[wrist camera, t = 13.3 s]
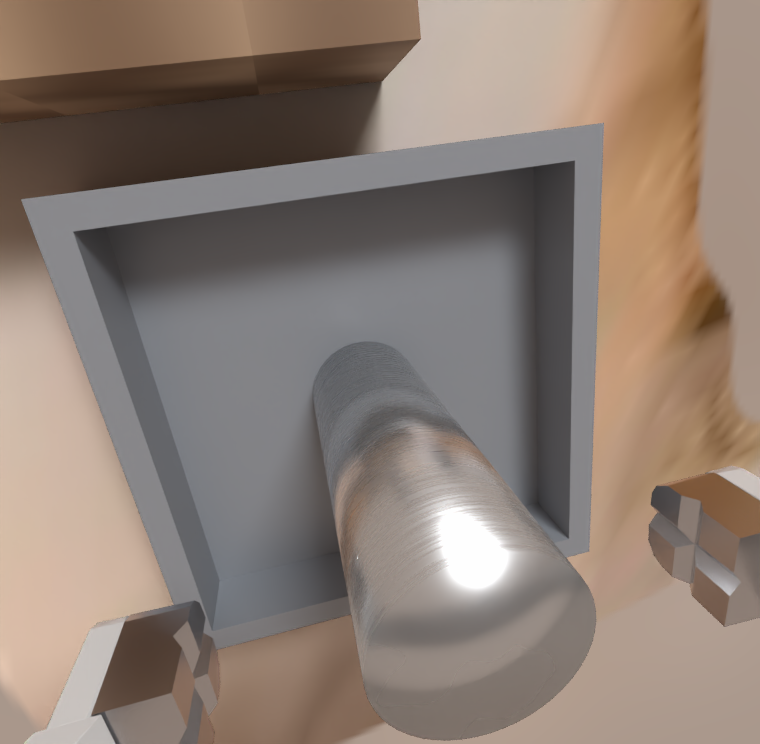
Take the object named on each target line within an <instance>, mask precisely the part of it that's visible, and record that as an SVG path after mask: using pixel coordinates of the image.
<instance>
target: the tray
mask: <svg viewBox="0 0 760 744" xmlns="http://www.w3.org/2000/svg"><path fill="white" fill-rule="evenodd" d="M603 135H604V123H600V124H593V125H585V126H577V127H570V128H562V129H554V130H547V131H539V132H531V133H524V134H516V135H509V136H501V137H493V138H486V139H478V140H470V141H463V142H455V143H447V144H440V145H432V146H425V147H417V148H409V149H402V150H394V151H386V152H379V153H371V154H363V155H356V156H348V157H341V158H333V159H325V160H318V161H310V162H302V163H295V164H287V165H279V166H272V167H264V168H257V169H249V170H241V171H234V172H226V173H218V174H211V175H203V176H195V177H188V178H180V179H173V180H165V181H157V182H150V183H142V184H134V185H127V186H119V187H111V188H104V189H96V190H89V191H81V192H73V193H66V194H58V195H50V196H43V197H35V198H27V199H21V201H22V204H23V206H24V209H25V212H26V214H27V217H28V219H29V222H30V225H31V227H32V230H33V233H34V235H35V238H36V241H37V243H38V246H39V249H40V251H41V254H42V257H43V259H44V262H45V265H46V267H47V270H48V272H49V275H50V278H51V280H52V283H53V286H54V288H55V291H56V294H57V296H58V299H59V302H60V304H61V307H62V310H63V312H64V315H65V318H66V320H67V323H68V325H69V328H70V331H71V333H72V336H73V339H74V341H75V344H76V347H77V349H78V352H79V355H80V357H81V360H82V363H83V365H84V368H85V370H86V373H87V376H88V378H89V381H90V384H91V386H92V389H93V392H94V394H95V397H96V400H97V402H98V405H99V408H100V410H101V413H102V416H103V418H104V421H105V423H106V426H107V429H108V431H109V434H110V437H111V439H112V442H113V445H114V447H115V450H116V453H117V455H118V458H119V461H120V463H121V466H122V469H123V471H124V474H125V476H126V479H127V482H128V484H129V487H130V490H131V492H132V495H133V498H134V500H135V503H136V506H137V508H138V511H139V514H140V516H141V519H142V521H143V524H144V527H145V529H146V532H147V535H148V537H149V540H150V543H151V545H152V548H153V551H154V553H155V556H156V559H157V561H158V564H159V567H160V569H161V572H162V574H163V577H164V580H165V582H166V585H167V588H168V590H169V593H170V596H171V598H172V601H173V604H174V605H176V604H181V603H185V602H190V601H194V600H195V601H197V602H200V605H201V607H202V610H203V612H204V615H205V617H206V618H205V624H204V631H203V633H205V634H207V635H208V636H210V637H212V638H213V640H214V643H215V646H216V649H217V650H218V649H222V648H226V647H229V646H233V645H237V644H241V643H245V642H248V641H252V640H256V639H260V638H263V637H267V636H271V635H275V634H279V633H282V632H286V631H290V630H294V629H297V628H301V627H305V626H309V625H313V624H316V623H320V622H324V621H328V620H331V619H335V618H339V617H343V616H347V615H350V614H351V610H350V604H349V599H348V593H347V588H346V582H345V576H344V571H343V565H342V560H341V554H340V548H339V543H338V537H337V532H336V526H335V520H334V515H333V509H332V503H331V498H330V492H329V487H328V481H327V475H326V470H325V464H324V459H323V453H322V447H321V442H320V436H319V431H318V425H317V419H316V414H315V408H314V402H313V385H314V381H315V377H316V375H317V373H318V371H319V369H320V367H321V366H322V364H323V363H324V362H325V361H326V359H327V358H328V357H330V356H331V355H332V354H333V353H334V352H336V351H337V350H339V349H341V348H342V347H344V346H347V345H349V344H353V343H357V342H363V341H373V342H380V343H383V344H386V345H389V346H391V347H393V348H395V349H396V350H398V351H399V352H400V353H401V354H403V356H404V357H405V358H406V359H407V360H408V361H409V362H410V364H411V365H412V366H413V367H414V369H415V370H416V371H417V372H418V374H419V375H420V376H421V377H422V379H423V380H424V381H425V382H426V384H427V385H428V386H429V387H430V389H431V390H432V391H433V392H434V394H435V395H436V396H437V397H438V399H439V400H440V401H441V402H442V404H443V405H444V406H445V407H446V409H447V410H448V411H449V412H450V414H451V415H452V416H453V417H454V419H455V420H456V421H457V422H458V424H459V425H460V426H461V427H462V429H463V430H464V431H465V432H466V434H467V435H468V436H469V437H470V439H471V440H472V441H473V442H474V444H475V445H476V446H477V447H478V449H479V450H480V451H481V452H482V454H483V455H484V456H485V457H486V459H487V460H488V461H489V462H490V464H491V465H492V466H493V467H494V469H495V470H496V471H497V472H498V474H499V475H500V476H501V477H502V479H503V480H504V481H505V482H506V484H507V485H508V486H509V487H510V489H511V490H512V491H513V492H514V494H515V495H516V496H517V497H518V499H519V500H520V501H521V502H522V504H523V505H524V506H525V507H526V509H527V510H528V511H529V512H530V514H531V515H532V516H533V517H534V519H535V520H536V521H537V522H538V523H539V525H540V526H541V527H542V528H543V530H544V531H545V532H546V533H547V535H548V536H549V537H550V538H551V540H552V541H553V542H554V543H555V545H556V546H557V547H558V548H559V550H560V551H561V552H562V553H563V555H564V556H565V557H570V556H574V555H577V554H581V553H585V552H589V543H590V514H591V484H592V455H593V426H594V397H595V368H596V339H597V310H598V281H599V251H600V222H601V193H602V164H603Z"/></svg>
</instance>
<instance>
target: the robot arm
mask: <svg viewBox="0 0 760 744" xmlns="http://www.w3.org/2000/svg"><path fill="white" fill-rule="evenodd" d="M651 506H652V507H653V508H654V509H655V510H656V512H657V514H656V515H655V517H654V518H653V520H652V521H651V523H650V524H649V538H648V540H649V543H650V546H651V548H652V551H653V554H654V556H655V557H656V559H657V560H658V562H659V563H660V565H661V566H662V567H663V568H664V569H665V570H666V571H667V572H668V573H669V574H670V575H671V576H672V577H674V578H677V579H679V580H682V581H684V582H686V583H689V584H690V588H691V593H692V596H693V597H694V598H695V599H696V600H697V601H698V602H699V603H700V604H701V605H702V606H703V607H704V608H705V609H706V610H707V611H708V612H710V614H712V615H713V616H714V617H715V618H716V619H717V620H718V621H719V622H720V623H721V624H722V625H723V626H724V627H726V626H729V625H733V624H737V623H741V622H745V621H748V620H752V619H756V618H760V478H759V477H757V476H755V475H753V474H752V473H750V472H748V471H746V470H745V469H743V468H739V467H735V466H729V467H725V468H721V469H717V470H714V471H710V472H707V473H705V474H700V475H696V476H692V477H688V478H685V479H681V480H677V481H673V482H669V483H665V484H661V485H657V486H656V488H655V489H654V491H653V492H652V498H651ZM205 618H206V617H205V615H204V612H203V610H202V607H201V605H200V602H197V601H195V600H194V601H190V602H185V603H181V604H176V605H172V606H168V607H163V608H159V609H154V610H150V611H145V612H141V613H136V614H132V615H130V616H126V617H122V618H117V619H113V620H108V621H103V622H99V623H97V624H96V625H95V626H94V627H93V628H91V629H90V631H89V632H88V634H87V637H86V639H85V641H84V643H83V646H82V648H81V650H80V652H79V655H78V657H77V659H76V662H75V664H74V666H73V668H72V671H71V673H70V675H69V678H68V680H67V682H66V684H65V687H64V689H63V691H62V693H61V696H60V698H59V700H58V703H57V705H56V707H55V709H54V712H53V714H52V716H51V719H50V721H49V723H48V725H47V728H46V729H45V730H42V731H38V732H35V733H33V734H32V735H31V736H30V737H29V739H27V740H26V741H25V742H24V743H23V744H213V742H214V734H215V732H214V729H213V727H212V724H211V721H210V719H209V715H210V714H211V712H212V711H213V710H214V708H215V707H216V705H217V704H218V699H219V689H220V670H219V660H218V655H217V649H216V646H215V643H214V640H213V638H212V637H210V636H208V635H207V634H205V633H203V631H204V624H205Z"/></svg>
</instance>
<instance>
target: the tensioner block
mask: <svg viewBox="0 0 760 744" xmlns="http://www.w3.org/2000/svg"><path fill="white" fill-rule="evenodd" d="M420 39H421V35H420V23H419V12H418V0H0V123H5V122H14V121H23V120H32V119H41V118H51V117H60V116H69V115H78V114H87V113H96V112H105V111H114V110H123V109H132V108H141V107H150V106H160V105H169V104H178V103H187V102H196V101H205V100H214V99H223V98H232V97H241V96H250V95H260V94H269V93H278V92H287V91H296V90H305V89H314V88H323V87H332V86H341V85H350V84H359V83H369V82H378V81H383V80H384V79H385V78H386V77H387V75H388V74H389V73H390V72H391V71H392V70H393V69H394V68H395V67H396V66H397V64H398V63H399V62H400V61H401V60H402V59H403V58H404V57H405V56H406V55H407V53H408V52H409V51H410V50H411V49H412V48H413V47H414V46H415V45H416V44H417V43H418V41H419V40H420Z"/></svg>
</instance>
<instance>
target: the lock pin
mask: <svg viewBox="0 0 760 744" xmlns="http://www.w3.org/2000/svg"><path fill="white" fill-rule="evenodd" d="M313 402H314V408H315V414H316V419H317V425H318V431H319V436H320V442H321V447H322V453H323V459H324V464H325V470H326V475H327V481H328V487H329V492H330V498H331V503H332V509H333V515H334V520H335V526H336V532H337V537H338V543H339V548H340V554H341V560H342V565H343V571H344V576H345V582H346V588H347V593H348V599H349V604H350V610H351V616H352V621H353V627H354V633H355V638H356V644H357V649H358V655H359V661H360V666H361V672H362V677H363V683H364V688H365V691H366V695H367V698H368V700H369V702H370V704H371V706H372V707H373V709H374V710H375V711H376V713H377V714H378V715H379V716H380V717H381V718H382V719H383V720H384V721H385V722H386V723H388V724H389V725H390V726H392V727H394V728H395V729H397V730H399V731H401V732H404V733H406V734H409V735H411V736H416V737H419V738H423V739H431V740H459V739H467V738H472V737H478V736H481V735H485V734H489V733H492V732H495V731H498V730H500V729H503V728H506V727H508V726H510V725H512V724H514V723H517V722H518V721H520V720H522V719H524V718H526V717H527V716H529V715H531V714H532V713H534V712H535V711H537V710H538V709H540V708H541V707H543V706H544V705H545V704H546V703H548V702H549V701H550V700H551V699H553V698H554V697H555V696H556V695H557V694H558V693H559V692H560V691H561V690H562V689H563V688H564V687H565V686H566V685H567V684H568V683H569V681H570V680H571V679H572V678H573V677H574V675H575V674H576V672H577V671H578V670H579V668H580V667H581V665H582V663H583V661H584V660H585V658H586V656H587V654H588V652H589V649H590V646H591V644H592V641H593V637H594V633H595V626H596V608H595V603H594V599H593V596H592V594H591V592H590V589H589V587H588V586H587V584H586V583H585V581H584V580H583V578H582V577H581V576H580V575H579V573H578V572H577V571H576V570H575V568H574V567H573V566H572V565H571V563H570V562H569V561H568V560H567V558H566V557H565V556H564V555H563V553H562V552H561V551H560V550H559V548H558V547H557V546H556V545H555V543H554V542H553V541H552V540H551V538H550V537H549V536H548V535H547V533H546V532H545V531H544V530H543V528H542V527H541V526H540V525H539V523H538V522H537V521H536V520H535V519H534V517H533V516H532V515H531V514H530V512H529V511H528V510H527V509H526V507H525V506H524V505H523V504H522V502H521V501H520V500H519V499H518V497H517V496H516V495H515V494H514V492H513V491H512V490H511V489H510V487H509V486H508V485H507V484H506V482H505V481H504V480H503V479H502V477H501V476H500V475H499V474H498V472H497V471H496V470H495V469H494V467H493V466H492V465H491V464H490V462H489V461H488V460H487V459H486V457H485V456H484V455H483V454H482V452H481V451H480V450H479V449H478V447H477V446H476V445H475V444H474V442H473V441H472V440H471V439H470V437H469V436H468V435H467V434H466V432H465V431H464V430H463V429H462V427H461V426H460V425H459V424H458V422H457V421H456V420H455V419H454V417H453V416H452V415H451V414H450V412H449V411H448V410H447V409H446V407H445V406H444V405H443V404H442V402H441V401H440V400H439V399H438V397H437V396H436V395H435V394H434V392H433V391H432V390H431V389H430V387H429V386H428V385H427V384H426V382H425V381H424V380H423V379H422V377H421V376H420V375H419V374H418V372H417V371H416V370H415V369H414V367H413V366H412V365H411V364H410V362H409V361H408V360H407V359H406V358H405V357H404V356H403V354H401V353H400V352H399V351H398V350H396V349H395V348H393V347H391V346H389V345H386V344H383V343H380V342H373V341H363V342H357V343H353V344H349V345H347V346H344V347H342V348H341V349H339V350H337V351H336V352H334V353H333V354H332V355H331V356H330V357H328V358H327V359H326V361H325V362H324V363H323V364H322V366H321V367H320V369H319V371H318V373H317V375H316V377H315V381H314V385H313Z"/></svg>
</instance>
